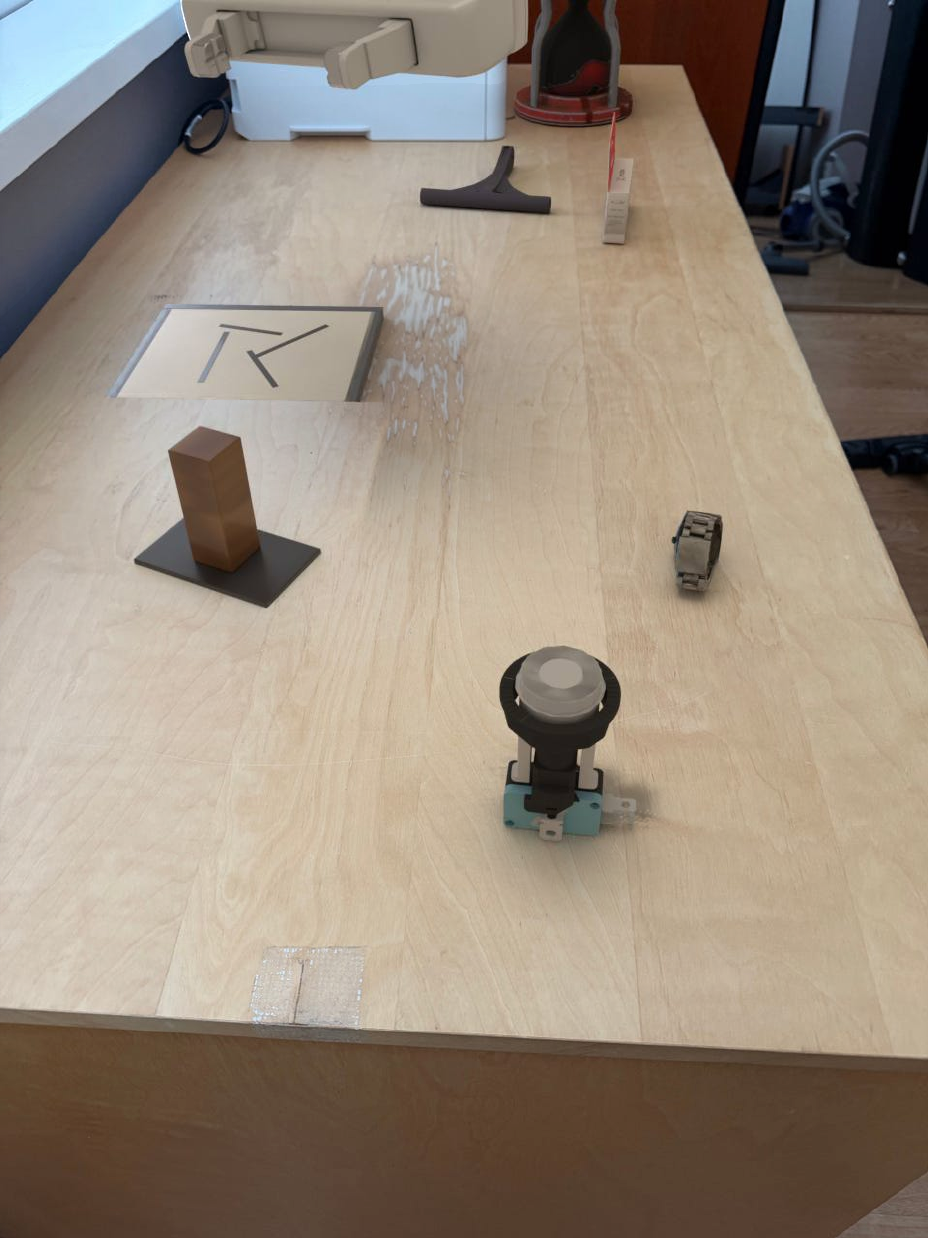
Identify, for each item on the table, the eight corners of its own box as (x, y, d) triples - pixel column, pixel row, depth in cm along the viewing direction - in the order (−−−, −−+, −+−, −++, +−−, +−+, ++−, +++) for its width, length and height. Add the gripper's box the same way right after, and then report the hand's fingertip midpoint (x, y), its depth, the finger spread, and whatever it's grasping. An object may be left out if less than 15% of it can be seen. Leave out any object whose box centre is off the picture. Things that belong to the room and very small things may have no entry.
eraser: (140, 583, 66) (101, 448, 59) (198, 532, 70) (168, 400, 63) (270, 629, 62) (244, 490, 56) (324, 573, 66) (306, 437, 60)
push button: (634, 784, 53) (654, 640, 46) (631, 871, 49) (653, 727, 42) (504, 771, 54) (506, 627, 47) (492, 856, 50) (492, 711, 43)
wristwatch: (713, 595, 66) (725, 518, 66) (703, 589, 61) (716, 505, 62) (666, 589, 67) (677, 513, 67) (652, 582, 63) (665, 500, 63)
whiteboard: (87, 440, 79) (83, 428, 78) (167, 313, 96) (165, 303, 95) (347, 446, 78) (346, 434, 77) (383, 317, 94) (383, 306, 94)
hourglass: (572, 135, 134) (584, -100, 117) (489, 108, 143) (490, -113, 126) (657, 110, 141) (679, -114, 125) (573, 86, 151) (584, -125, 134)
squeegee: (568, 170, 124) (569, 145, 122) (548, 214, 113) (549, 188, 111) (450, 164, 126) (450, 139, 124) (420, 207, 115) (418, 181, 113)
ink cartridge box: (629, 206, 114) (638, 110, 108) (625, 245, 106) (634, 144, 100) (607, 205, 115) (614, 110, 108) (601, 244, 106) (608, 143, 100)
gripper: (251, -80, 65) (101, -5, 57) (545, -80, 57) (415, 8, 49) (276, 31, 70) (141, 114, 62) (552, 46, 61) (434, 144, 53)
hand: (264, 67), depth 55 cm, fingers open, 8 cm apart
